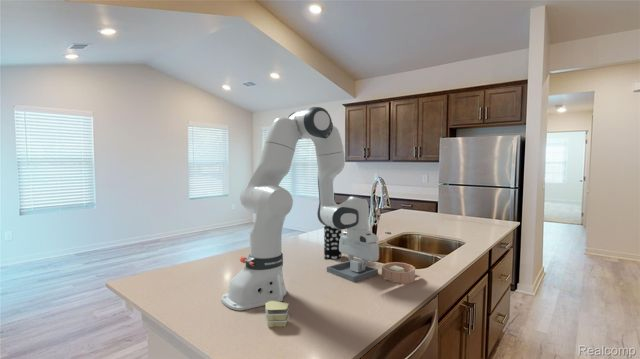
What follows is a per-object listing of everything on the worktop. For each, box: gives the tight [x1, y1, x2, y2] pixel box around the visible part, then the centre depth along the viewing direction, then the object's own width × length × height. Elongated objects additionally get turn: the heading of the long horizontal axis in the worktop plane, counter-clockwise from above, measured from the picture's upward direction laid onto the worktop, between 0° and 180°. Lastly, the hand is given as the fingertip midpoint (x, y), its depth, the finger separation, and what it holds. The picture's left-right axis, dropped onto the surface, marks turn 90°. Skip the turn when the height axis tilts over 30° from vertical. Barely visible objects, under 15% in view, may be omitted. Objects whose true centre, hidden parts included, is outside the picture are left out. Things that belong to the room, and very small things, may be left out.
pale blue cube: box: [350, 258, 365, 272], centre depth 139 cm, size 4×4×4 cm
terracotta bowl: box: [381, 261, 416, 285], centre depth 132 cm, size 13×13×4 cm
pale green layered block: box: [264, 301, 290, 328], centre depth 96 cm, size 10×9×6 cm
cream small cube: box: [388, 266, 404, 272], centre depth 131 cm, size 4×4×4 cm
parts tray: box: [326, 260, 379, 283], centre depth 137 cm, size 14×16×3 cm
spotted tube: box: [323, 225, 343, 261], centre depth 159 cm, size 8×8×20 cm
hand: (357, 267), depth 139 cm, fingers closed on pale blue cube, 4 cm apart
